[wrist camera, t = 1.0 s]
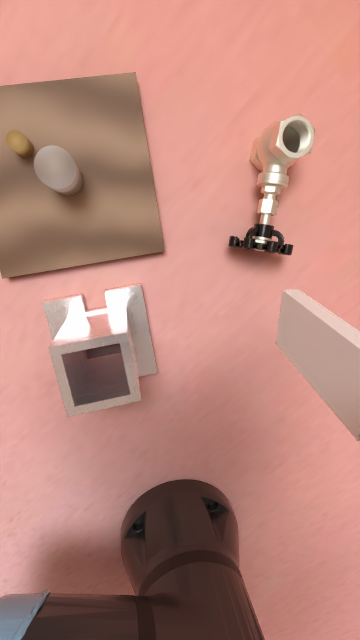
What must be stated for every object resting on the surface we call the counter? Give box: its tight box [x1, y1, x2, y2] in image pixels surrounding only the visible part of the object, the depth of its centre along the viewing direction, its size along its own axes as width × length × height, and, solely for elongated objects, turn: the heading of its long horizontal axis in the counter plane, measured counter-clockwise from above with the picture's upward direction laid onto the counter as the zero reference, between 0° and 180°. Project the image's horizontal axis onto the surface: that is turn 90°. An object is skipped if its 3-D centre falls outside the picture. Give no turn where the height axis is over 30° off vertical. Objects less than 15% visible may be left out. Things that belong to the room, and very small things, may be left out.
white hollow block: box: [43, 283, 157, 417], centre depth 32 cm, size 10×10×11 cm
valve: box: [229, 114, 315, 255], centre depth 34 cm, size 7×7×12 cm
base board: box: [0, 72, 165, 278], centre depth 30 cm, size 16×16×8 cm
